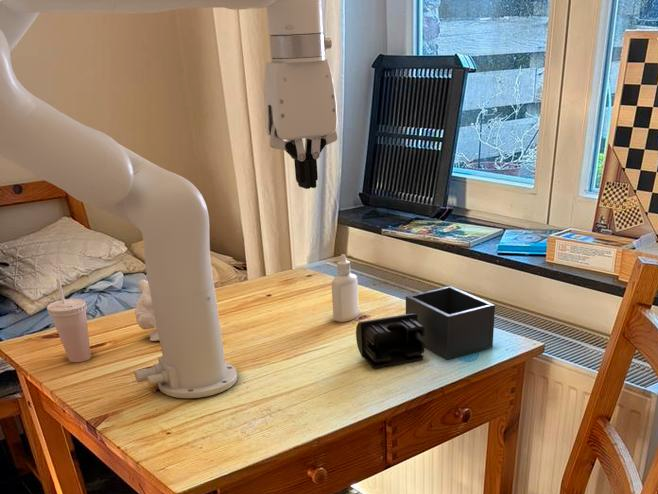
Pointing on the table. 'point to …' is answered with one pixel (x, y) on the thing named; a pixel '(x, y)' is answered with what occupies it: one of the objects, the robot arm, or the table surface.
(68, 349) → the smoothie
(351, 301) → the eye dropper bottle
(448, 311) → the box
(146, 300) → the koala figurine
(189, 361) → the robot arm
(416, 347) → the end cap
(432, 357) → the table surface
